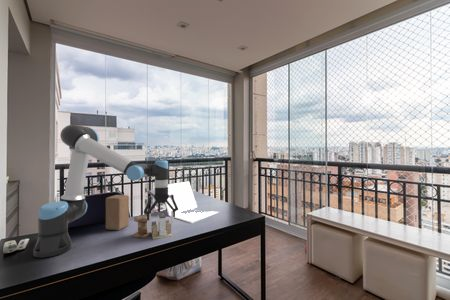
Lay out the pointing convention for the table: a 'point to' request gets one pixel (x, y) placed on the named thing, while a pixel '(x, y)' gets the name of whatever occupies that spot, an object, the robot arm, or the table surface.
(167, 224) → the tan base with posts
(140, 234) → the spool
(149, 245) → the table surface
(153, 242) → the table surface
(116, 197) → the wooden block
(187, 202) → the laptop
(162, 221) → the tab
